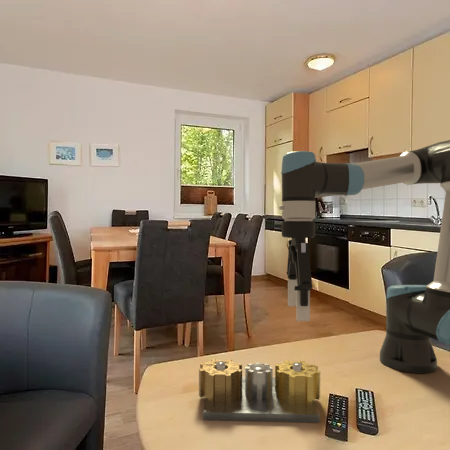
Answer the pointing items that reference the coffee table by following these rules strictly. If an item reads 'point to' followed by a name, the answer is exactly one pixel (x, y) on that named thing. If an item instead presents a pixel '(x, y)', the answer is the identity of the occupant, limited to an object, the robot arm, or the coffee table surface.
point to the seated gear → (220, 381)
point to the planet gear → (297, 382)
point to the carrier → (260, 400)
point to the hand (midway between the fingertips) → (297, 312)
